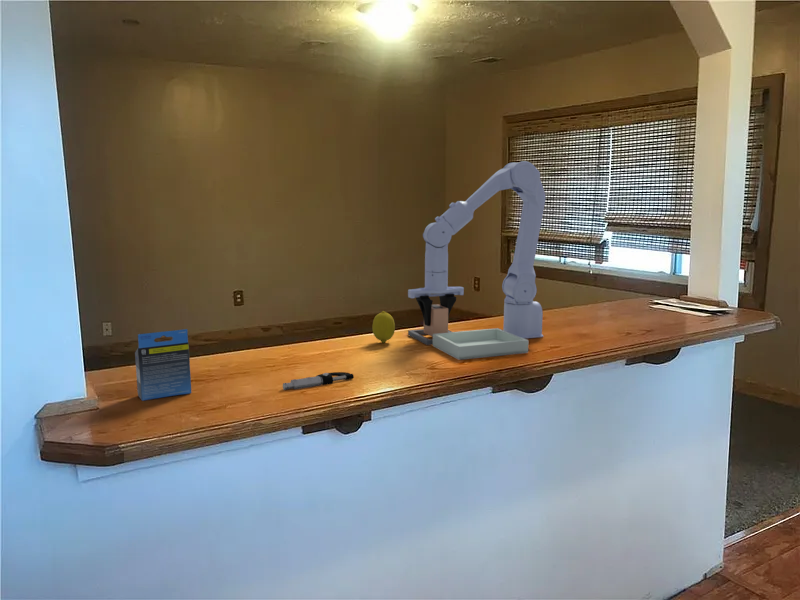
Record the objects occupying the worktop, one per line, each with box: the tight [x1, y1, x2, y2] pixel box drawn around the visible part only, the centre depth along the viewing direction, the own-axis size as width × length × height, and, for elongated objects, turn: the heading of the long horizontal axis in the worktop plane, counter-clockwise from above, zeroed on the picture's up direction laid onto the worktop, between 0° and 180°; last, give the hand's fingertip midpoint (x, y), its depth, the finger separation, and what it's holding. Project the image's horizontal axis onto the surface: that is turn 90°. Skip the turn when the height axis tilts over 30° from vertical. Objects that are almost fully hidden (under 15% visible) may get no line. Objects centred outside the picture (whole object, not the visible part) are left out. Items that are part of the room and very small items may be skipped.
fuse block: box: [423, 304, 449, 338], centre depth 168 cm, size 4×6×7 cm, turn 22°
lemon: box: [371, 310, 396, 344], centre depth 163 cm, size 6×6×8 cm
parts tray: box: [432, 327, 529, 361], centre depth 157 cm, size 18×14×3 cm
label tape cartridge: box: [134, 328, 192, 402], centre depth 121 cm, size 9×4×12 cm, turn 121°
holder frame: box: [407, 328, 453, 346], centre depth 169 cm, size 10×12×1 cm
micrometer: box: [282, 371, 354, 391], centre depth 131 cm, size 15×7×2 cm, turn 121°
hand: (435, 324), depth 168 cm, fingers closed on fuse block, 4 cm apart
